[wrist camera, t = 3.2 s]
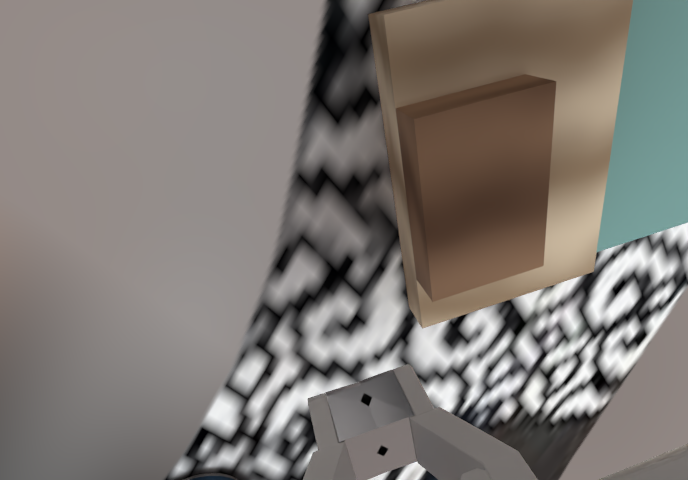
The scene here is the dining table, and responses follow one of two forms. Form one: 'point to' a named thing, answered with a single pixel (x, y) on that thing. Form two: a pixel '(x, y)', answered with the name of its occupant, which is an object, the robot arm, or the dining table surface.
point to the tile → (478, 182)
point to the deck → (496, 65)
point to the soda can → (211, 477)
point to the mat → (650, 128)
